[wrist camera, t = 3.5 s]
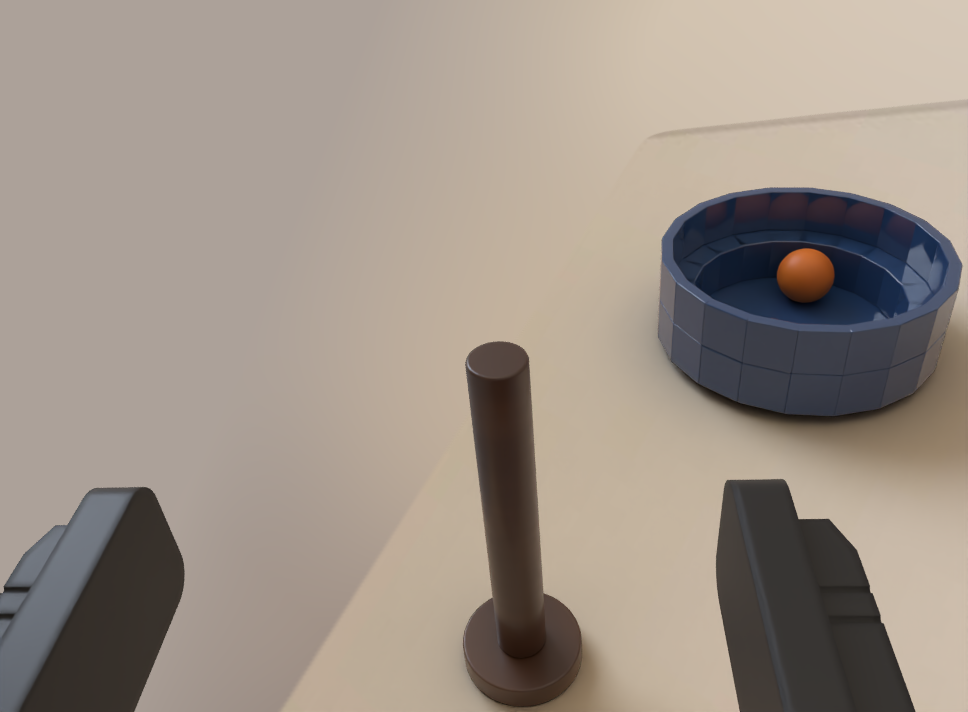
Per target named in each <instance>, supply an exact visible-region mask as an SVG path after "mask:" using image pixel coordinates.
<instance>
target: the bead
mask: <svg viewBox="0 0 968 712" xmlns="http://www.w3.org/2000/svg"><path fill="white" fill-rule="evenodd" d="M834 276H835V274H834V267H833V265H832V263H831V261H830V260H829V258H828V257H827V256H826V255H825V254H823V253H822V252H820V251H817V250H815V249H809V248H805V249H799V250H796V251H793V252H791V253H790V254H788V255H787V256H786V257H785V258H784V259H783V260H782V262H781V263H780V265H779V268H778V271H777V282H778V285H779V288H780V289H781V291H782V292H783V294H784V295H786V296H787V297H788V298H790V299H791V300H793V301H797V302H801V303H808V302H813V301H816V300H818V299H820V298H822V297H823V296H825V295H826V294H827V293H828V291H829V290H830V289H831V287H832V285H833V282H834Z"/></svg>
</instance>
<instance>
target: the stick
mask: <svg viewBox="0 0 968 712" xmlns="http://www.w3.org/2000/svg"><path fill="white" fill-rule="evenodd" d="M465 365H466V374H467V382H468V391H469V399H470V408H471V416H472V425H473V433H474V442H475V450H476V459H477V468H478V476H479V485H480V493H481V502H482V510H483V519H484V527H485V536H486V544H487V553H488V561H489V570H490V578H491V587H492V596H493V598H491V599H489V600H488V601H486V602H485V603H484V604H482V605H481V606H480V607H479V608H478V609H477V610H476V611H475V612H474V613H473V615H472V616H471V618H470V620H469V622H468V624H467V626H466V629H465V632H464V637H463V648H464V655H465V661H466V667H467V670H468V673H469V675H470V677H471V679H472V680H473V682H474V684H475V685H476V686H477V687H478V688H479V689H480V690H481V691H482V692H483V693H484V694H486V695H487V696H489V697H490V698H492V699H494V700H496V701H498V702H501V703H504V704H507V705H512V706H533V705H538V704H541V703H545V702H547V701H549V700H552V699H553V698H555V697H557V696H558V695H560V694H561V693H562V692H564V691H565V690H566V689H567V688H568V687H569V686H570V684H571V683H572V682H573V680H574V679H575V677H576V675H577V673H578V671H579V668H580V664H581V658H582V641H581V632H580V628H579V625H578V623H577V620H576V619H575V617H574V615H573V614H572V613H571V611H570V610H569V609H568V608H567V607H566V606H565V605H564V604H563V603H561V602H560V601H558V600H557V599H555V598H553V597H552V596H549V595H547V594H544V593H543V579H542V563H541V547H540V531H539V514H538V498H537V482H536V466H535V449H534V433H533V417H532V401H531V385H530V368H529V357H528V355H527V353H526V351H525V350H524V349H523V348H521V347H520V346H518V345H516V344H513V343H510V342H490V343H486V344H483V345H480V346H479V347H477V348H475V349H474V350H472V351H471V352H470V353H469V355H468V357H467V359H466V364H465Z"/></svg>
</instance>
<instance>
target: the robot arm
mask: <svg viewBox="0 0 968 712" xmlns="http://www.w3.org/2000/svg"><path fill="white" fill-rule="evenodd" d="M716 578H717V590H718V598H719V604H720V609H721V614H722V619H723V625H724V630H725V635H726V641H727V646H728V651H729V657H730V662H731V667H732V672H733V678H734V683H735V688H736V694H737V699H738V704H739V709H740V712H915V709H914V706H913V703H912V701H911V698H910V695H909V692H908V690H907V687H906V684H905V681H904V679H903V676H902V673H901V670H900V668H899V665H898V662H897V659H896V657H895V654H894V651H893V648H892V646H891V643H890V640H889V637H888V635H887V632H886V629H885V626H884V624H883V623H881V619H880V616H881V615H880V613H879V610H878V607H877V604H876V602H875V599H874V596H873V593H870V585H869V582H868V580H867V577H866V574H865V571H864V569H863V566H862V563H861V560H860V558H859V555H858V552H857V550H856V549H855V548H854V546H853V545H852V544H851V543H850V542H849V541H848V540H847V539H846V538H845V536H844V535H843V534H842V533H841V532H840V531H839V530H838V529H837V528H836V526H835V525H834V524H833V523H832V522H831V521H830V520H829V519H798V516H797V513H796V510H795V506H794V503H793V500H792V497H791V493H790V490H789V487H788V485H787V483H786V482H785V480H783V479H771V480H727V481H726V483H725V486H724V493H723V502H722V511H721V519H720V528H719V536H718V545H717V554H716ZM183 586H184V563H183V558H182V555H181V553H180V551H179V549H178V546H177V544H176V542H175V539H174V537H173V535H172V532H171V530H170V528H169V525H168V523H167V521H166V518H165V516H164V514H163V512H162V509H161V507H160V505H159V503H158V500H157V498H156V496H155V494H154V493H153V491H152V490H151V489H149V488H146V487H134V488H133V487H130V488H94V489H92V490H91V491H89V492H88V493H87V494H86V495H85V497H84V498H83V500H82V502H81V503H80V505H79V506H78V508H77V510H76V512H75V513H74V515H73V517H72V518H71V520H70V522H69V523H68V525H61V526H60V525H57V526H54V527H53V528H52V529H51V530H50V531H49V532H48V533H47V534H46V535H44V536H43V537H42V538H41V539H40V540H39V541H38V542H37V543H36V544H35V545H33V546H32V547H31V548H30V549H29V550H28V551H27V552H26V553H25V554H24V555H23V556H22V558H21V560H20V561H19V563H18V564H17V566H16V568H15V569H14V571H13V573H12V574H11V576H10V577H9V579H8V581H7V582H6V584H5V585H4V592H3V593H0V712H134V711H135V708H136V706H137V703H138V701H139V698H140V696H141V694H142V691H143V689H144V687H145V684H146V682H147V679H148V677H149V674H150V672H151V670H152V667H153V665H154V662H155V660H156V657H157V655H158V653H159V650H160V648H161V645H162V643H163V640H164V638H165V635H166V633H167V631H168V628H169V626H170V624H171V621H172V619H173V616H174V614H175V612H176V609H177V607H178V604H179V602H180V599H181V595H182V592H183Z"/></svg>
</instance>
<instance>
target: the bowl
mask: <svg viewBox="0 0 968 712" xmlns="http://www.w3.org/2000/svg"><path fill="white" fill-rule="evenodd" d="M805 248H809V249H815V250H817V251H820V252H822V253H823V254H825V255H826V256H827V257H828V258H829V260H830V261H831V263H832V265H833V267H834V274H835V276H834V282H833V285H832V287H831V289H830V290H829V291H828V293H827V294H826V295H825V296H823V297H822V298H820V299H818V300H816V301H813V302H808V303H801V302H797V301H793V300H791V299H790V298H788V297H787V296H786V295H784V294H783V292H782V291H781V289H780V288H779V285H778V282H777V271H778V268H779V265H780V263H781V262H782V260H783V259H784V258H785V257H786V256H787V255H788V254H790V253H791V252H793V251H796V250H799V249H805ZM961 272H962V263H961V261H960V259H959V257H958V255H957V253H956V251H955V249H954V247H953V245H952V243H951V242H950V240H949V239H947V238H946V237H945V236H944V235H943V234H941V233H940V232H939V231H938V230H936V229H935V228H934V227H933V226H932V225H930V224H929V223H928V222H927V221H925V220H923V219H921V218H919V217H917V216H915V215H913V214H911V213H908V212H906V211H904V210H902V209H900V208H898V207H896V206H894V205H891V204H888V203H885V202H881V201H878V200H874V199H870V198H867V197H863V196H860V195H856V194H851V193H846V192H839V191H831V190H824V189H816V188H763V189H756V190H749V191H742V192H735V193H729V194H726V195H723V196H720V197H717V198H714V199H711V200H708V201H705V202H702V203H699V204H698V205H696V206H695V207H693V208H691V209H690V210H688V211H687V212H685V213H684V214H682V215H681V216H679V217H677V218H676V219H675V220H674V221H673V223H672V224H671V226H670V227H669V229H668V230H667V232H666V233H665V235H664V236H663V238H662V244H661V265H660V286H659V306H658V338H659V340H660V341H661V343H662V345H663V347H664V349H665V351H666V352H667V354H668V356H669V358H670V360H671V361H672V362H673V363H674V364H675V365H676V366H677V367H679V368H680V369H681V370H682V371H683V372H685V373H686V374H687V375H688V376H689V377H690V378H692V379H693V380H694V381H695V382H696V383H698V384H700V385H702V386H704V387H706V388H708V389H710V390H712V391H715V392H717V393H719V394H721V395H723V396H725V397H727V398H729V399H731V400H734V401H736V402H738V403H742V404H746V405H750V406H754V407H758V408H763V409H767V410H771V411H775V412H779V413H785V414H795V415H817V416H839V415H845V414H851V413H857V412H863V411H869V410H875V409H880V408H882V407H885V406H887V405H889V404H891V403H893V402H895V401H898V400H900V399H902V398H904V397H906V396H909V395H911V394H913V393H914V392H915V391H916V390H917V389H918V388H919V387H920V386H921V385H922V384H923V383H924V382H925V380H926V379H927V378H928V377H929V376H930V375H931V374H932V373H933V372H934V371H935V368H936V365H937V361H938V358H939V354H940V351H941V348H942V344H943V341H944V337H945V334H946V330H947V327H948V324H949V320H950V317H951V313H952V310H953V307H954V303H955V300H956V296H957V293H958V290H959V284H960V278H961Z"/></svg>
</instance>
